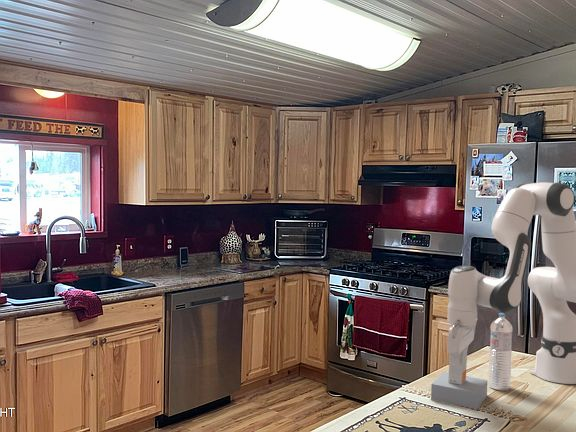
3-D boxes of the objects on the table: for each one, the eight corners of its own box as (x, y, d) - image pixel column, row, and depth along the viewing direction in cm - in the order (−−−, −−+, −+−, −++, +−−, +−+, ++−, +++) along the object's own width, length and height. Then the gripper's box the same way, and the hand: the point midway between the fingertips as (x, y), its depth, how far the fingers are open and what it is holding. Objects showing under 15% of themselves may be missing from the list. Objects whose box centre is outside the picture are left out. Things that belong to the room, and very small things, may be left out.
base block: (443, 386, 182) (443, 371, 182) (486, 395, 175) (487, 380, 175) (431, 399, 170) (431, 383, 170) (477, 409, 163) (477, 393, 163)
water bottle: (512, 392, 178) (514, 316, 177) (490, 390, 180) (492, 315, 179) (508, 385, 185) (510, 312, 184) (486, 383, 186) (489, 310, 185)
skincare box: (461, 385, 169) (463, 347, 168) (448, 382, 171) (449, 345, 171) (466, 380, 174) (467, 343, 174) (453, 377, 176) (454, 340, 176)
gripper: (464, 325, 161) (462, 371, 161) (479, 313, 178) (477, 355, 179) (442, 322, 164) (441, 367, 165) (459, 311, 182) (458, 351, 182)
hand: (460, 361), depth 172 cm, fingers closed on skincare box, 6 cm apart
